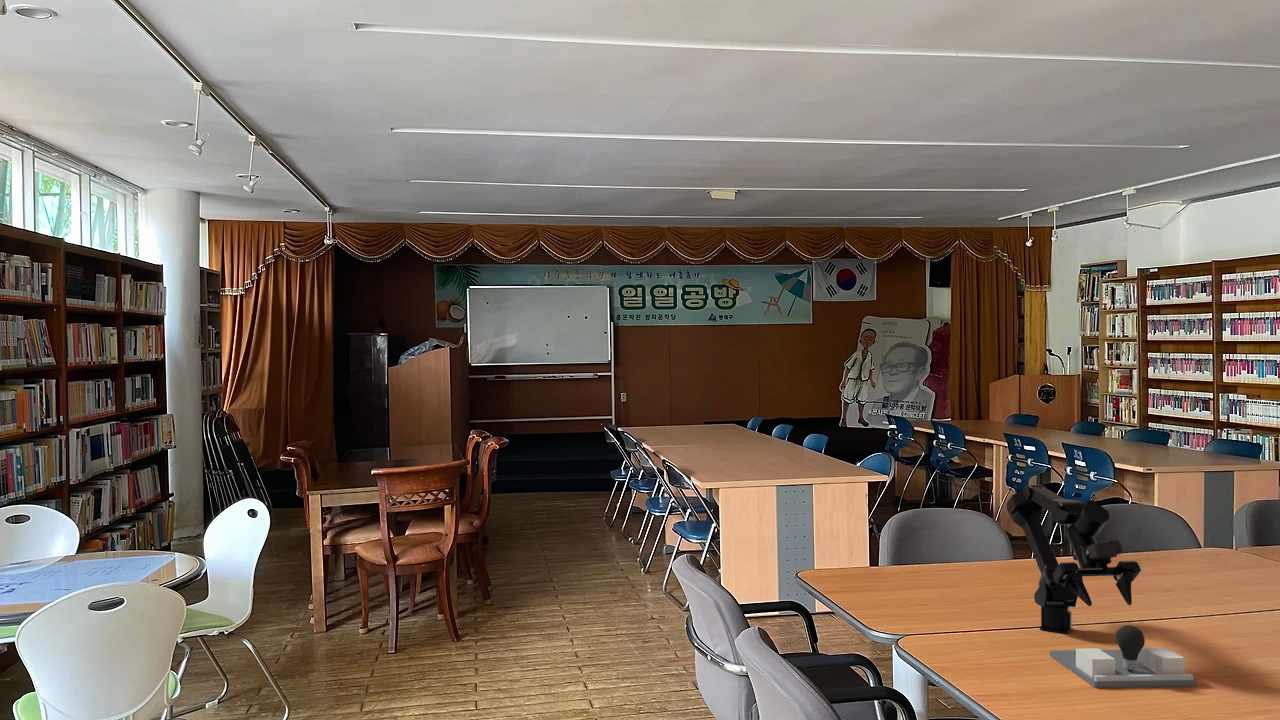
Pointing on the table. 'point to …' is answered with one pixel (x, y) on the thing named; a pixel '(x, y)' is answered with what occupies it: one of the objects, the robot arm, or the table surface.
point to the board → (1110, 672)
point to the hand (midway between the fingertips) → (1110, 604)
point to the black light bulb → (1130, 645)
